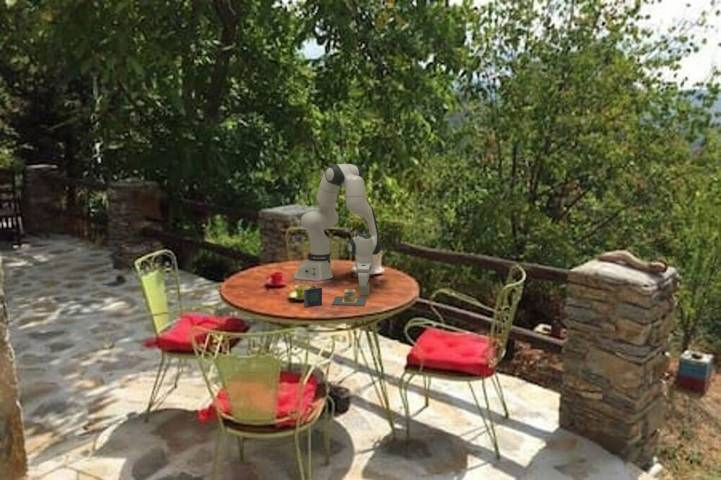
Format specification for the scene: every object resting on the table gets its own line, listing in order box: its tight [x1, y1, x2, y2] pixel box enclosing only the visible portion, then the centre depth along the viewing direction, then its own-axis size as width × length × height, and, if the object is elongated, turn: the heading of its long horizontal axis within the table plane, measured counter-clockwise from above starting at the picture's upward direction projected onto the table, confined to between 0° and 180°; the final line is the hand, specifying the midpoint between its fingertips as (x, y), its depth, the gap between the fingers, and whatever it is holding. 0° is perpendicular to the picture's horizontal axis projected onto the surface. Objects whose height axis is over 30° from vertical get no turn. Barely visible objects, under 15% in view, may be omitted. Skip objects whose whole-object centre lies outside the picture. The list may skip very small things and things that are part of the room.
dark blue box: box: [303, 283, 323, 308], centre depth 284 cm, size 9×3×11 cm, turn 117°
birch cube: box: [343, 288, 356, 302], centre depth 290 cm, size 5×5×5 cm
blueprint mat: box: [331, 295, 368, 307], centre depth 291 cm, size 16×13×1 cm
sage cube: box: [358, 282, 370, 296], centre depth 305 cm, size 5×5×5 cm
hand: (364, 290), depth 305 cm, fingers closed on sage cube, 5 cm apart
